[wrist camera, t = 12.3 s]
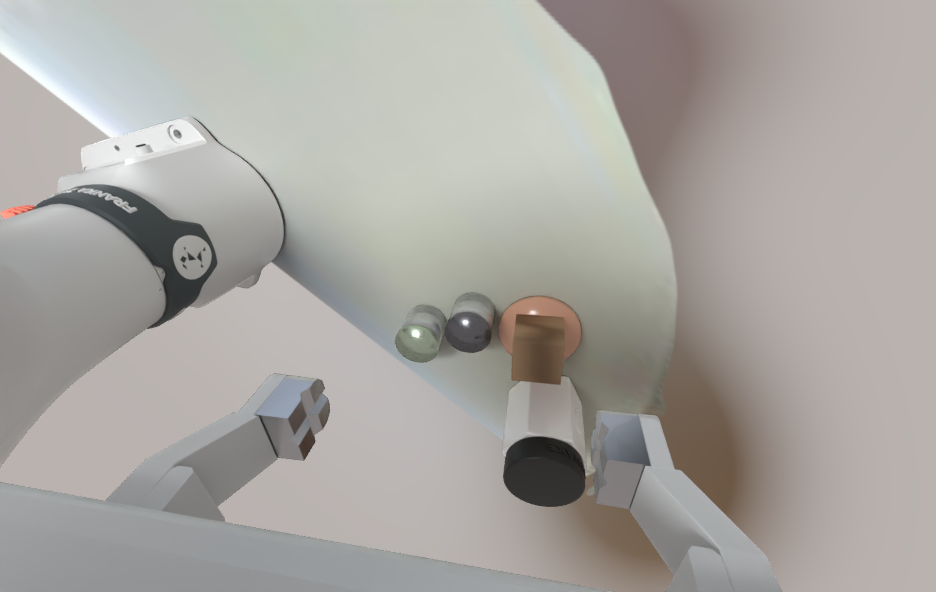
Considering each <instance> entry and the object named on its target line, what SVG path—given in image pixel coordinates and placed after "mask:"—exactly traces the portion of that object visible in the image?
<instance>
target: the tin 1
mask: <svg viewBox="0 0 936 592" xmlns="http://www.w3.org/2000/svg"><path fill="white" fill-rule="evenodd" d="M446 325H447V322H446V318H445V316H444V314H443V313H442V312H441V311H440V310H439V309H437V308H435V307H433V306H430V305H419V306H416V307H414V308H413V309H412V310H411V312H410V313H409V315H408V317H407V319H406V321H405V323H404V325H403V326H402V328H401V329H400V330H399V332H398V334H397V336H396V339H395V344H396V347H397V349H398V351H399V352H400V353H401V354H402V355H403V356H404V357H405V358H407V359H409V360H411V361H414V362H421V363H422V362H428V361H430V360H432V359H433V358H435V356H436V355H437V353H438V350H439V345H440V342H441V340H442V337H443V334H444V332H445V327H446Z"/></svg>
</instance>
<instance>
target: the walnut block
mask: <svg viewBox="0 0 936 592" xmlns="http://www.w3.org/2000/svg"><path fill="white" fill-rule="evenodd" d="M564 352H565V334H564V317H554V316H540V315H526V314H516V321H515V329H514V336H513V349H512V380H515V381H525V382H535V383H545V384H555V385H561V376H562V368H563V360H564Z"/></svg>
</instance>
